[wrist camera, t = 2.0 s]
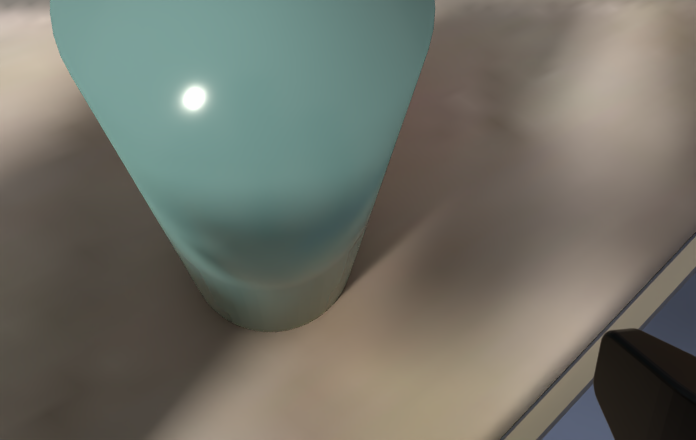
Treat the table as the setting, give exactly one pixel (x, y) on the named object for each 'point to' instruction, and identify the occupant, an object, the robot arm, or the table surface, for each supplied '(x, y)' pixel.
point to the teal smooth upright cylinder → (252, 131)
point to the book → (577, 380)
